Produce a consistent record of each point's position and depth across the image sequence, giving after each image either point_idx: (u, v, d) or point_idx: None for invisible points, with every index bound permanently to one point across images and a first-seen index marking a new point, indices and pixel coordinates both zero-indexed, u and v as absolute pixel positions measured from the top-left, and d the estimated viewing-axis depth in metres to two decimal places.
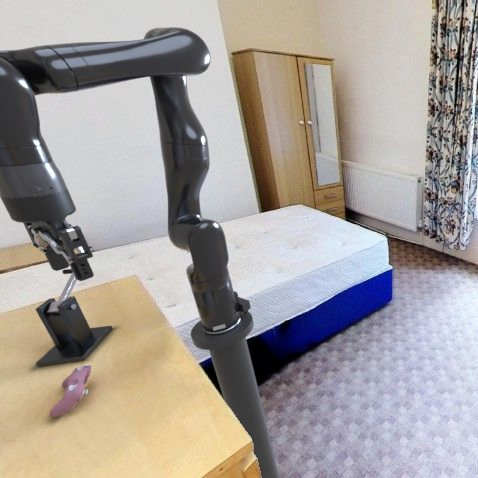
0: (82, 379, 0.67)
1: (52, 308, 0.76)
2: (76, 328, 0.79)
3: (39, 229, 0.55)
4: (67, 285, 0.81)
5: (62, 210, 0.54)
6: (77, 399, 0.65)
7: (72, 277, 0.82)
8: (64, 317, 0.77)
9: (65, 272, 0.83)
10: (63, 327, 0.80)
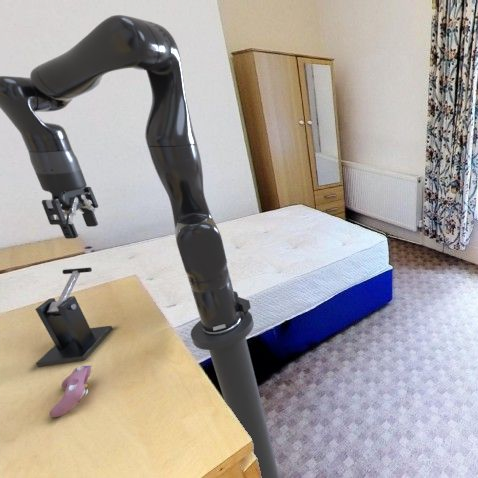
0: (82, 379, 0.67)
1: (52, 308, 0.76)
2: (76, 328, 0.79)
3: None
4: (67, 285, 0.81)
5: (59, 186, 0.75)
6: (77, 399, 0.65)
7: (72, 277, 0.82)
8: (64, 317, 0.77)
9: (65, 272, 0.83)
10: (63, 327, 0.80)
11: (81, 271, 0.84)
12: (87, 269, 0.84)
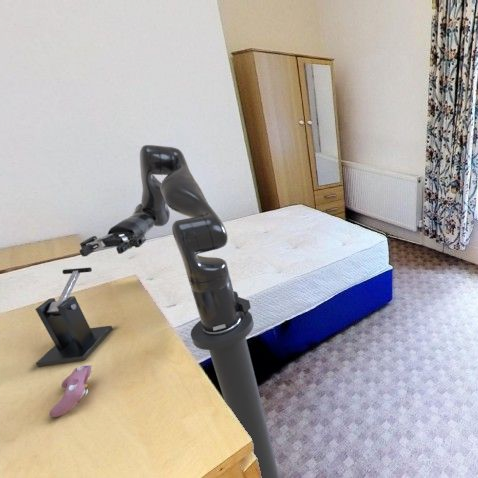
0: (82, 379, 0.67)
1: (52, 308, 0.76)
2: (76, 328, 0.79)
3: None
4: (67, 285, 0.81)
5: None
6: (77, 399, 0.65)
7: (72, 277, 0.82)
8: (64, 317, 0.77)
9: (65, 272, 0.83)
10: (63, 327, 0.80)
11: (81, 271, 0.84)
12: (87, 269, 0.84)
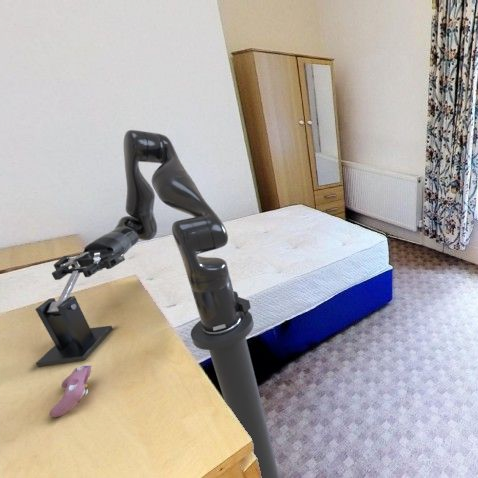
0: (82, 379, 0.67)
1: (52, 308, 0.76)
2: (76, 328, 0.79)
3: None
4: (67, 285, 0.81)
5: None
6: (77, 399, 0.65)
7: (72, 277, 0.82)
8: (64, 317, 0.77)
9: (65, 272, 0.83)
10: (63, 327, 0.80)
11: (81, 271, 0.84)
12: None
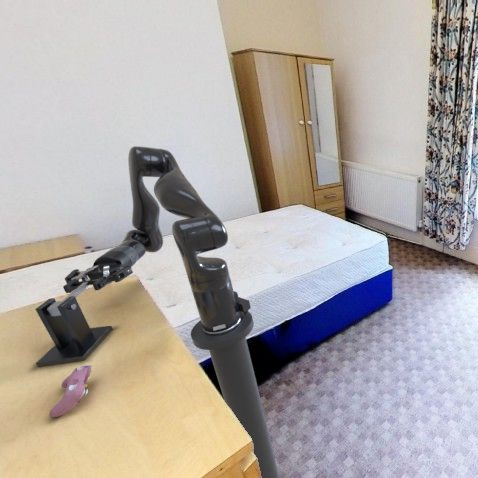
0: (82, 379, 0.67)
1: (53, 306, 0.77)
2: (76, 328, 0.79)
3: None
4: (74, 291, 0.83)
5: None
6: (77, 399, 0.65)
7: (80, 286, 0.85)
8: (64, 317, 0.77)
9: (75, 284, 0.86)
10: (63, 327, 0.80)
11: (91, 283, 0.87)
12: None
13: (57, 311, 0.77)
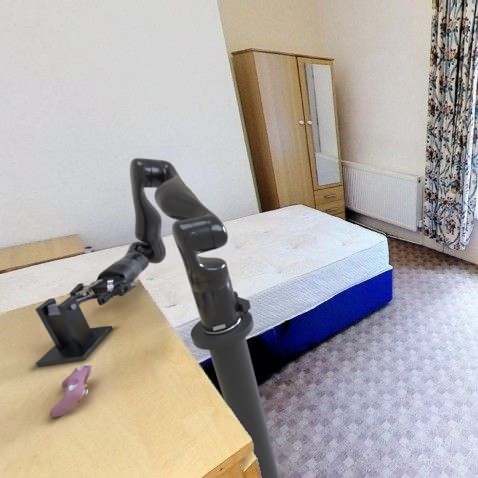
0: (82, 379, 0.67)
1: (54, 304, 0.77)
2: (76, 328, 0.79)
3: None
4: (77, 299, 0.84)
5: None
6: (77, 399, 0.65)
7: (85, 297, 0.86)
8: (64, 317, 0.77)
9: (80, 297, 0.87)
10: (63, 327, 0.80)
11: (95, 296, 0.88)
12: (101, 294, 0.89)
13: (56, 309, 0.76)
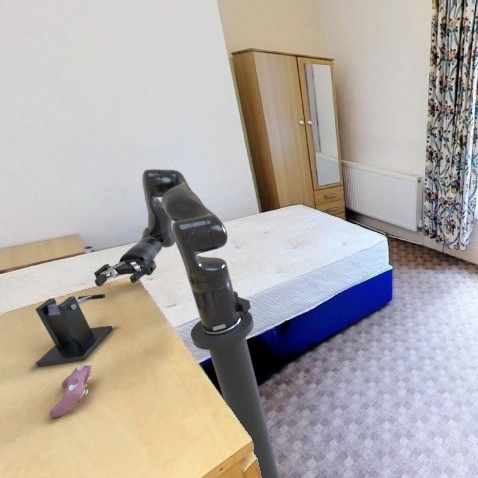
0: (82, 379, 0.67)
1: (54, 304, 0.77)
2: (76, 328, 0.79)
3: None
4: (77, 300, 0.84)
5: None
6: (77, 399, 0.65)
7: (85, 297, 0.86)
8: (64, 317, 0.77)
9: (80, 297, 0.87)
10: (63, 327, 0.80)
11: (95, 296, 0.88)
12: (102, 294, 0.89)
13: (56, 309, 0.76)
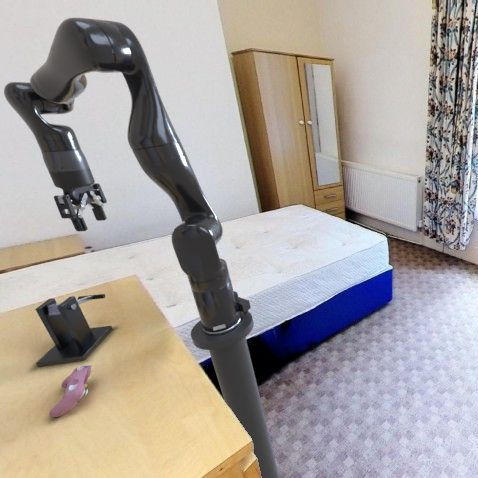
0: (82, 379, 0.67)
1: (54, 304, 0.77)
2: (76, 328, 0.79)
3: None
4: (77, 300, 0.84)
5: (69, 183, 0.82)
6: (77, 399, 0.65)
7: (85, 297, 0.86)
8: (64, 317, 0.77)
9: (80, 297, 0.87)
10: (63, 327, 0.80)
11: (95, 296, 0.88)
12: (102, 294, 0.89)
13: (56, 309, 0.76)
